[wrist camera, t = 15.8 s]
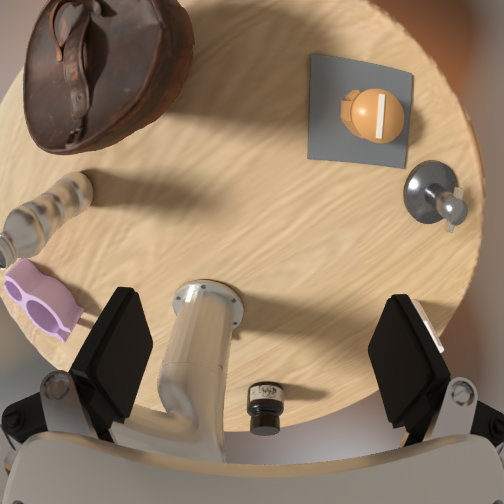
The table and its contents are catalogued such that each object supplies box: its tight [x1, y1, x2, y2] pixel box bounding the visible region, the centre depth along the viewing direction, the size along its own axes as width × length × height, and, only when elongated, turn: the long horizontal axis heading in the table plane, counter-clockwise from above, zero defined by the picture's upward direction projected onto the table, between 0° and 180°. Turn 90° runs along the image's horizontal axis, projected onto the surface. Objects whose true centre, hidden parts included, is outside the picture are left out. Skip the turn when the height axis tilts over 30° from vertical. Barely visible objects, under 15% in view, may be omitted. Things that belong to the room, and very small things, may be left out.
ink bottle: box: [247, 382, 284, 436], centre depth 58 cm, size 10×9×12 cm
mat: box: [307, 54, 412, 169], centre depth 30 cm, size 14×14×1 cm
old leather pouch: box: [23, 0, 195, 155], centre depth 20 cm, size 18×20×18 cm
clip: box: [3, 258, 84, 343], centre depth 47 cm, size 20×12×7 cm, turn 45°
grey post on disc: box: [404, 160, 468, 233], centre depth 31 cm, size 10×10×8 cm
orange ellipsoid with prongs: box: [340, 89, 404, 143], centre depth 27 cm, size 6×6×6 cm
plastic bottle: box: [0, 172, 93, 270], centre depth 28 cm, size 6×7×20 cm
